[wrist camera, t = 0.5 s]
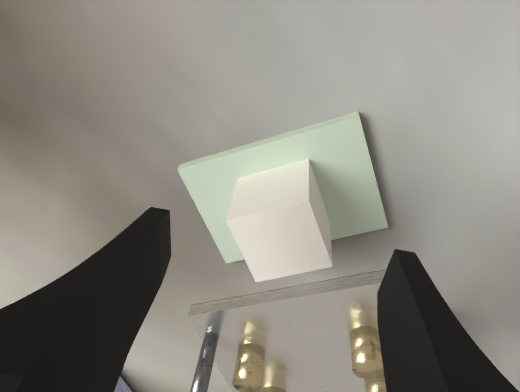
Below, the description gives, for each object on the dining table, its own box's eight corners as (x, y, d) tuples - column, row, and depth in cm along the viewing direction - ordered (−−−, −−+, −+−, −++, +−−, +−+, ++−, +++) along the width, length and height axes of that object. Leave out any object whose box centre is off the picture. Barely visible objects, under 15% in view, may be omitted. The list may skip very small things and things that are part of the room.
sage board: (228, 253, 28) (214, 312, 23) (181, 161, 24) (155, 210, 20) (385, 217, 25) (401, 276, 21) (357, 108, 22) (369, 153, 17)
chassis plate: (257, 418, 37) (249, 489, 32) (191, 305, 30) (169, 375, 25) (427, 400, 33) (446, 478, 28) (396, 268, 26) (415, 341, 22)
